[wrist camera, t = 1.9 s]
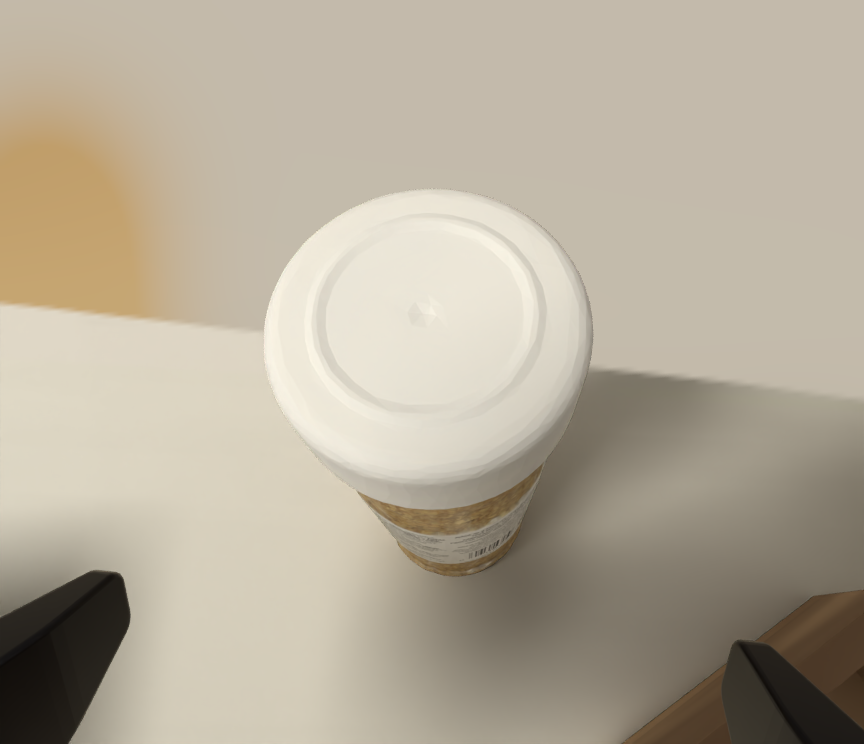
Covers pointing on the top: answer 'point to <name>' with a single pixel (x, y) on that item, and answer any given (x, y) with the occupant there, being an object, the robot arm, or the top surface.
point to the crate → (800, 645)
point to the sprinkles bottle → (432, 364)
